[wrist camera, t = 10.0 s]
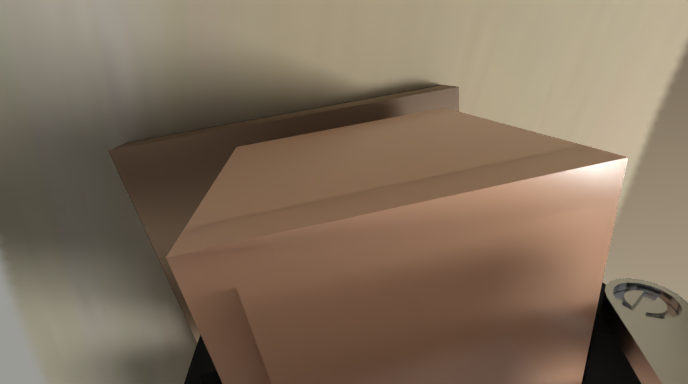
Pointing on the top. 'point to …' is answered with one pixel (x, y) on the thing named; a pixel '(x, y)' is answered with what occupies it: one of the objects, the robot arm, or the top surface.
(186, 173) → the walnut board
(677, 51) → the top surface
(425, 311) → the terracotta box
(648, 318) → the robot arm
